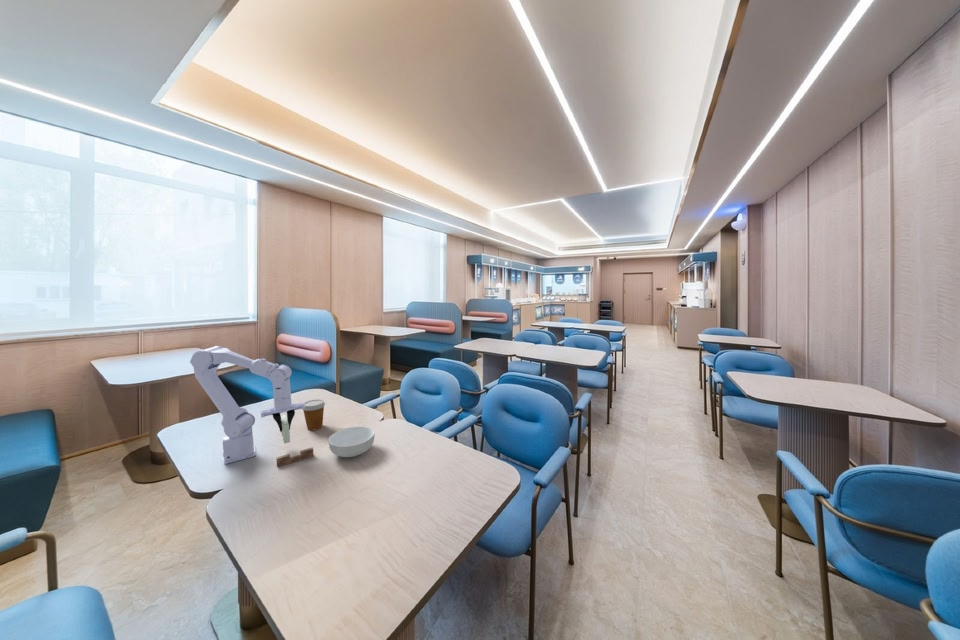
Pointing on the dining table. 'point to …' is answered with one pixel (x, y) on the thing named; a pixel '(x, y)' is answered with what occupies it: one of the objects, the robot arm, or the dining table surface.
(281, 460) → the walnut slot board
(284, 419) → the sage slot plate
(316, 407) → the disposable coffee cup
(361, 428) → the cereal bowl
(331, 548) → the dining table surface
